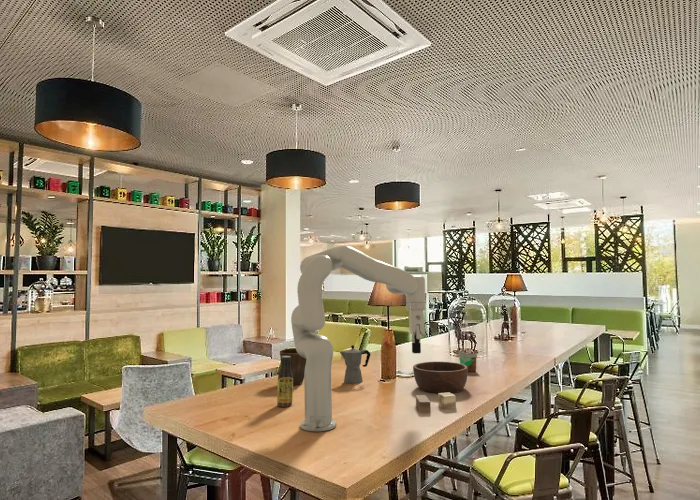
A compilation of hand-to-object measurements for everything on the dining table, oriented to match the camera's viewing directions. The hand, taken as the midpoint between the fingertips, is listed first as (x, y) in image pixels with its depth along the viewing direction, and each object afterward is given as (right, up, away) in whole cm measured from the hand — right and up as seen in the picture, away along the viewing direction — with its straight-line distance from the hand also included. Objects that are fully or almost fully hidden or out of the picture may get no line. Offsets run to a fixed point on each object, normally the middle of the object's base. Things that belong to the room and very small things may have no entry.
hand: (416, 352), depth 180 cm
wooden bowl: (+16, -24, +30) cm, 41 cm away
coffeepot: (-24, -25, +46) cm, 57 cm away
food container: (+37, -25, +68) cm, 82 cm away
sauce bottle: (-53, -23, +6) cm, 58 cm away
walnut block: (+2, -20, +3) cm, 20 cm away
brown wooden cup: (-54, -26, +44) cm, 74 cm away
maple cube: (+12, -22, 0) cm, 25 cm away
